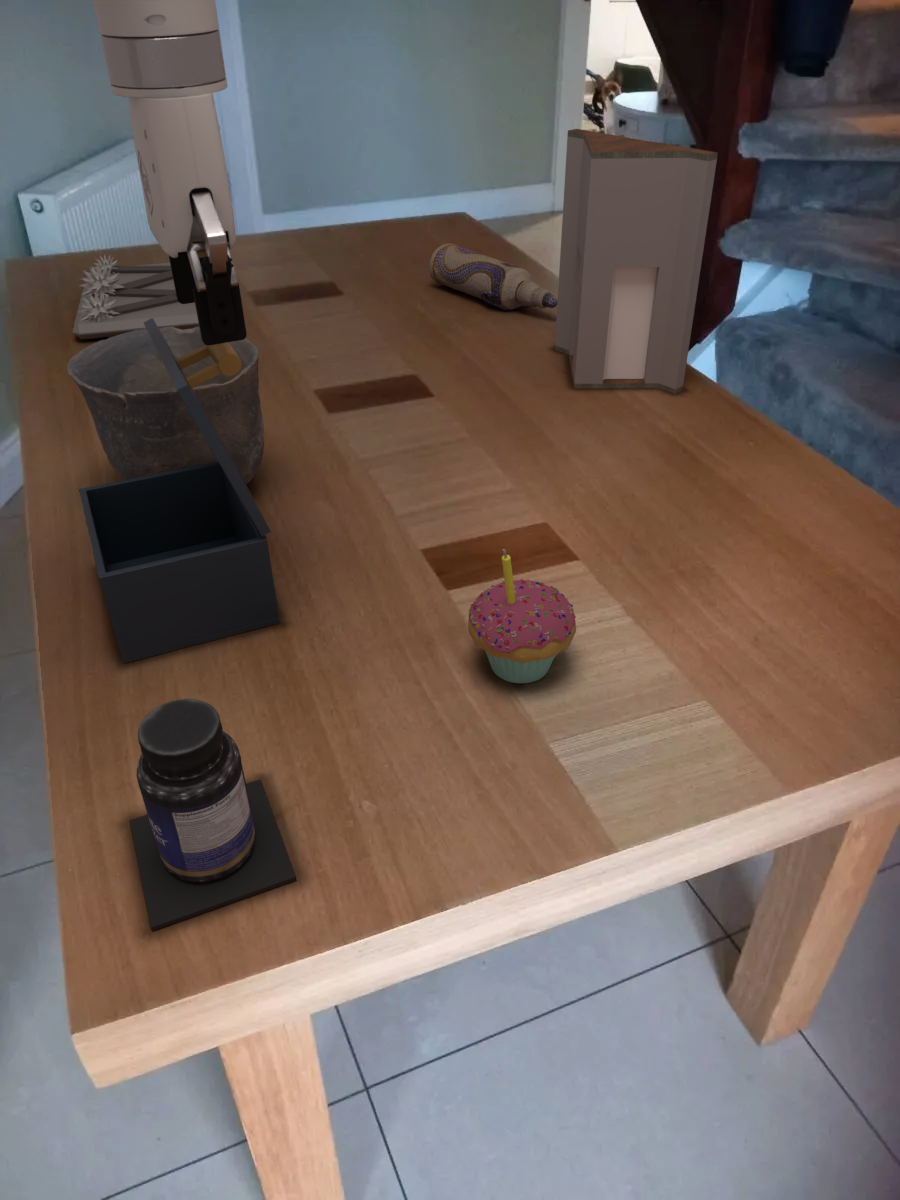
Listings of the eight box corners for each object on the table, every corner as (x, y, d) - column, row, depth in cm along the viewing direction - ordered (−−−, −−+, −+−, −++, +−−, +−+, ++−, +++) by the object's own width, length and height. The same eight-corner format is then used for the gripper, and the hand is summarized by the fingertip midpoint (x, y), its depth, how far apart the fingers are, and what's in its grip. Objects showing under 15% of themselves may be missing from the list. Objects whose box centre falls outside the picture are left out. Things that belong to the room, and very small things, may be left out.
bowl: (122, 552, 89) (83, 408, 80) (91, 474, 102) (54, 342, 93) (297, 507, 95) (279, 369, 86) (247, 439, 108) (227, 313, 99)
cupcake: (515, 714, 70) (521, 586, 63) (445, 659, 75) (443, 536, 68) (594, 667, 74) (607, 543, 67) (522, 618, 80) (528, 498, 73)
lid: (176, 390, 65) (243, 356, 65) (143, 322, 76) (200, 294, 77) (262, 537, 74) (319, 506, 75) (221, 456, 85) (271, 431, 86)
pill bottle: (156, 825, 61) (119, 703, 55) (247, 800, 63) (222, 679, 56) (167, 899, 57) (129, 775, 50) (265, 869, 58) (240, 746, 52)
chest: (123, 663, 75) (98, 578, 70) (101, 568, 87) (78, 488, 82) (280, 623, 80) (267, 539, 74) (239, 537, 91) (226, 459, 86)
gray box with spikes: (225, 330, 137) (217, 282, 133) (74, 344, 133) (61, 295, 129) (217, 271, 161) (210, 229, 156) (89, 282, 157) (78, 238, 152)
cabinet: (682, 390, 118) (717, 152, 102) (634, 412, 113) (663, 165, 96) (562, 346, 131) (576, 128, 114) (514, 364, 126) (521, 139, 109)
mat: (152, 931, 55) (150, 927, 55) (130, 824, 62) (129, 820, 62) (296, 880, 58) (296, 876, 58) (261, 782, 65) (260, 778, 65)
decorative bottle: (425, 288, 152) (425, 246, 148) (460, 279, 156) (460, 238, 152) (535, 330, 136) (537, 284, 132) (570, 318, 140) (574, 274, 136)
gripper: (92, 54, 66) (143, 294, 76) (126, 86, 53) (183, 368, 63) (197, 48, 68) (233, 281, 78) (254, 77, 55) (288, 350, 66)
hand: (210, 320), depth 71 cm, fingers open, 9 cm apart
